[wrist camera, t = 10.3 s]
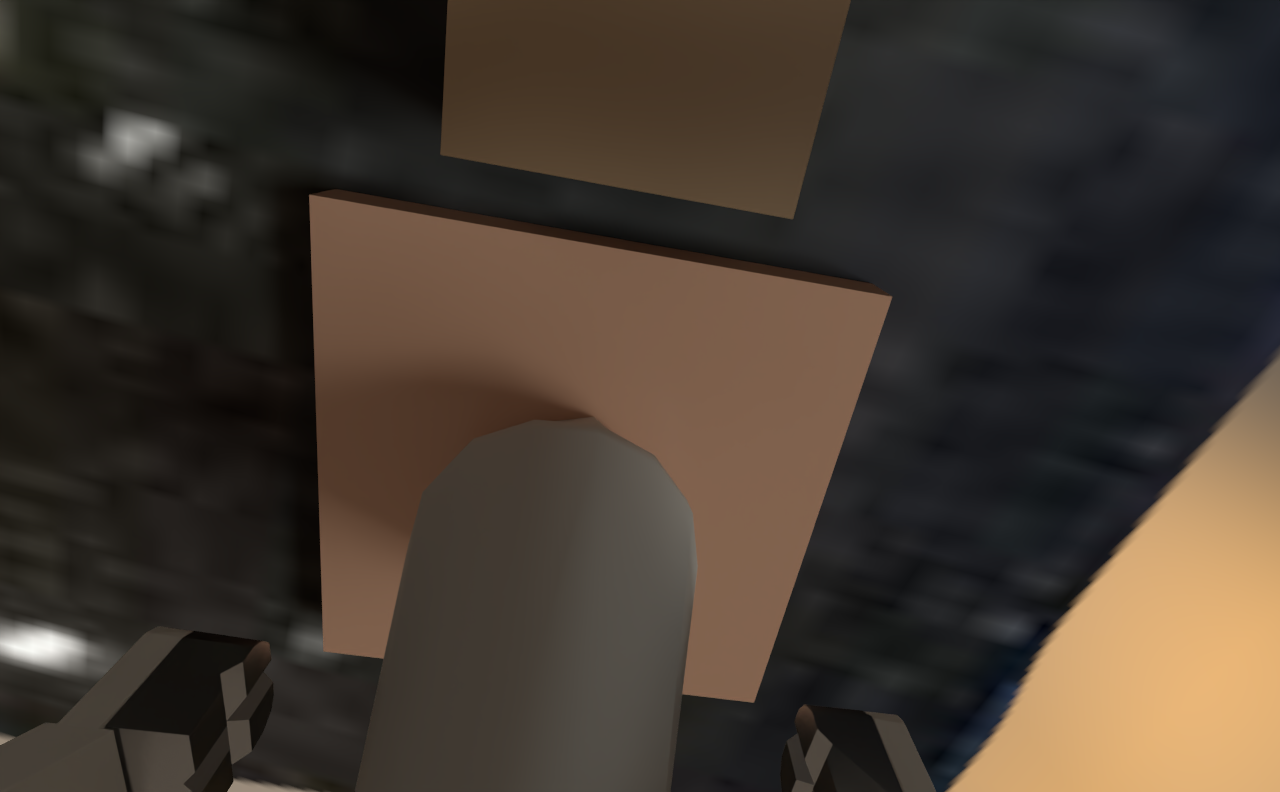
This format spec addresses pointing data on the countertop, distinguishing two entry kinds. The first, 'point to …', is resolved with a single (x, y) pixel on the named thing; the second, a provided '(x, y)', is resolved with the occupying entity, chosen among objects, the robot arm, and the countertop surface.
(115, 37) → the countertop surface
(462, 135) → the walnut block
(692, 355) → the terracotta tile
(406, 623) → the salt shaker
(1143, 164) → the countertop surface
